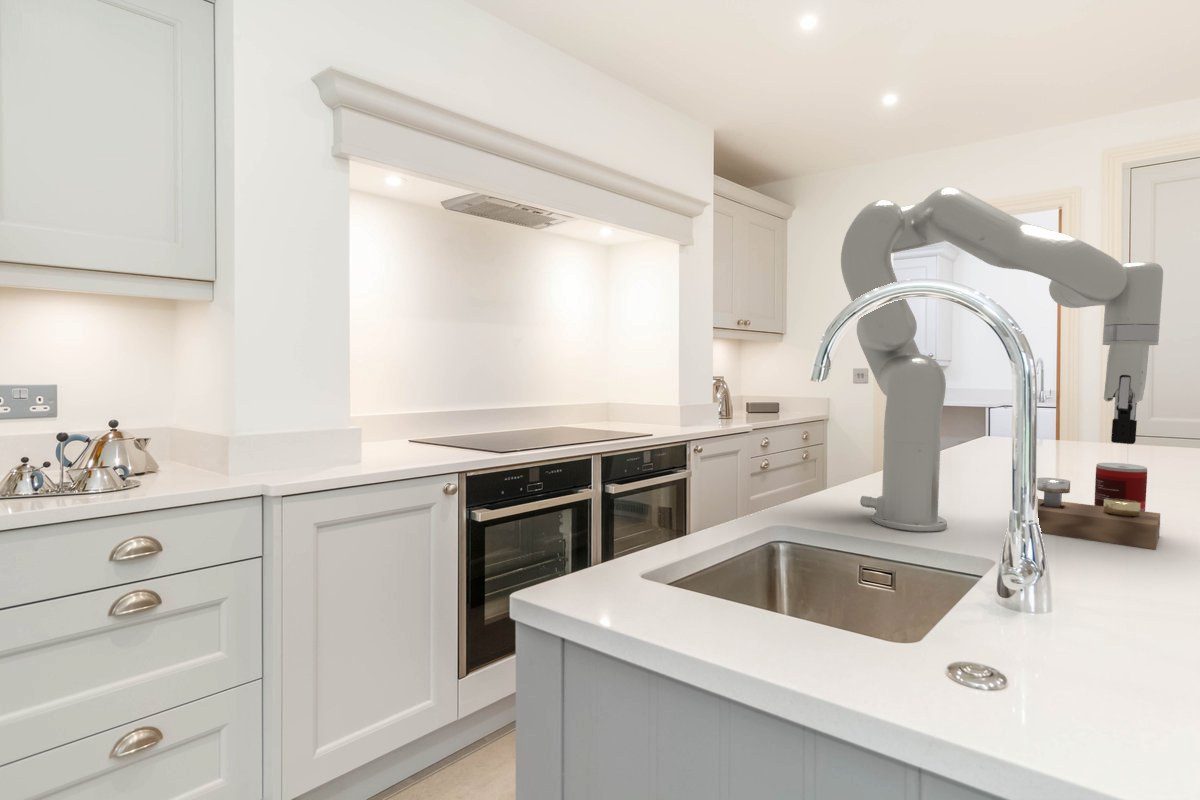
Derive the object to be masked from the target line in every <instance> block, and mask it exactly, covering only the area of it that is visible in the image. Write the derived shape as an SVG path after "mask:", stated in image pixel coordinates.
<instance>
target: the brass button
mask: <svg viewBox="0 0 1200 800" xmlns="http://www.w3.org/2000/svg"><path fill="white" fill-rule="evenodd" d="M1103 511H1104V512H1107V513H1111V514H1112V515H1116V516H1124V517H1131V516H1139V515H1140V503H1139V502H1136V501H1132V500H1125V499H1113V498H1108V499H1104V509H1103Z"/></svg>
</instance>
